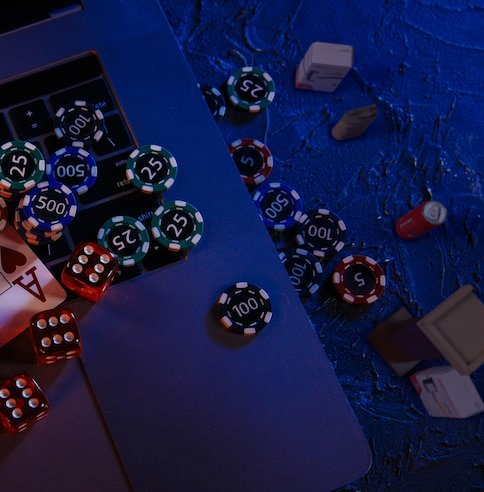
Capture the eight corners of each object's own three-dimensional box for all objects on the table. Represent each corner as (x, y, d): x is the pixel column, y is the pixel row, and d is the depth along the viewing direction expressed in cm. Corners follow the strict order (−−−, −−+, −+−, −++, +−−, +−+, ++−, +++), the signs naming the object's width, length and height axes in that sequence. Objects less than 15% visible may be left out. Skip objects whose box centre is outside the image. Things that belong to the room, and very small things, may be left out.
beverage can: (390, 234, 129) (417, 218, 117) (398, 213, 130) (426, 195, 118) (413, 245, 128) (443, 229, 116) (421, 223, 129) (452, 206, 118)
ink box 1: (294, 90, 137) (311, 61, 125) (295, 69, 138) (312, 39, 126) (334, 94, 136) (354, 66, 125) (334, 73, 137) (354, 44, 126)
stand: (401, 307, 125) (462, 288, 103) (435, 347, 123) (505, 336, 101) (364, 336, 124) (417, 323, 102) (398, 377, 122) (460, 373, 100)
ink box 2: (407, 375, 122) (437, 373, 110) (430, 365, 122) (462, 362, 111) (429, 417, 120) (462, 420, 109) (452, 407, 120) (487, 409, 109)
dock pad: (462, 286, 103) (470, 283, 101) (507, 336, 101) (516, 335, 99) (415, 323, 102) (422, 321, 99) (460, 375, 100) (468, 375, 97)
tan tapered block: (334, 142, 134) (351, 122, 124) (328, 126, 134) (345, 105, 125) (365, 134, 134) (385, 113, 124) (359, 118, 135) (378, 97, 125)
